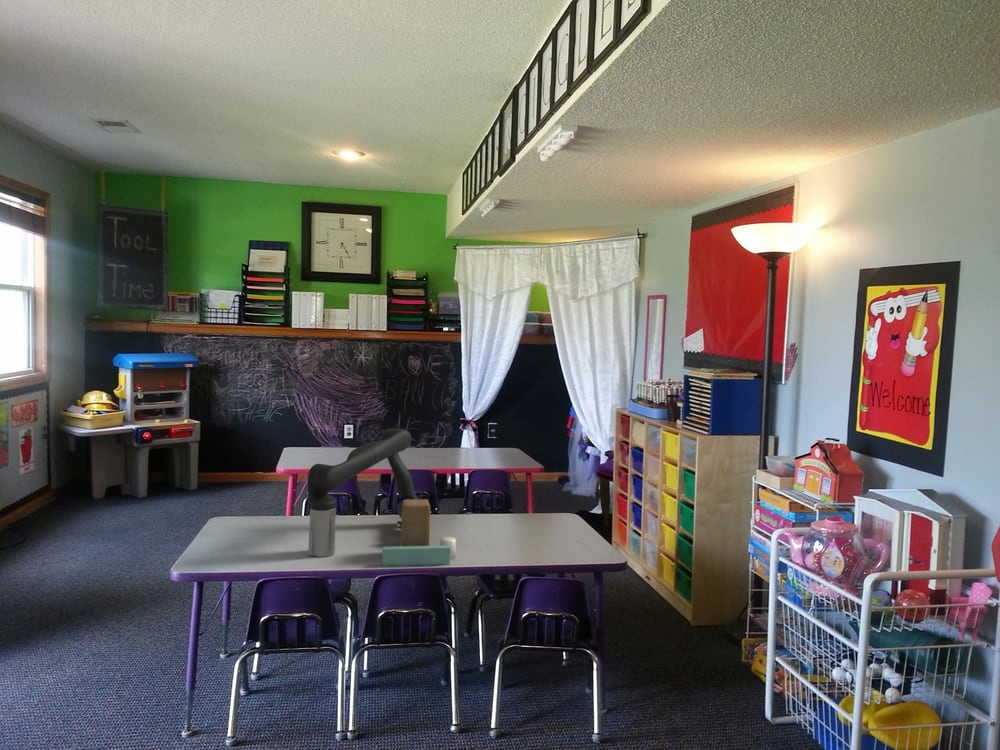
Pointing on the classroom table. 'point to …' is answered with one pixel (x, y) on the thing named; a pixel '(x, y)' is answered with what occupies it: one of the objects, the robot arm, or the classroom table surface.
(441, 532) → the classroom table surface
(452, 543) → the cream rounded cylinder
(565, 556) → the classroom table surface
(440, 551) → the teal block
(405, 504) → the wooden block
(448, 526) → the classroom table surface
